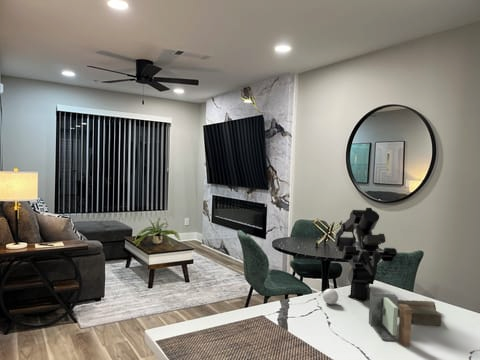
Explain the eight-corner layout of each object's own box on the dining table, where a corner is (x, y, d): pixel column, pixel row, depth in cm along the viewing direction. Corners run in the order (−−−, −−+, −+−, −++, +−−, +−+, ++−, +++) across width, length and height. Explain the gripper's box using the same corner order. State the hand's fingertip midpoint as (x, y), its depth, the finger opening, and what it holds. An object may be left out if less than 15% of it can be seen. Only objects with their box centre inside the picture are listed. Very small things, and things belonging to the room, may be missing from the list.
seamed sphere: (319, 302, 135) (319, 287, 134) (330, 300, 137) (331, 285, 137) (333, 310, 128) (333, 294, 128) (345, 307, 130) (345, 292, 130)
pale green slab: (379, 323, 114) (381, 297, 114) (386, 323, 114) (387, 297, 114) (389, 335, 106) (391, 307, 106) (396, 335, 106) (398, 307, 106)
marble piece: (434, 310, 131) (434, 299, 131) (452, 329, 116) (453, 316, 116) (387, 306, 133) (387, 296, 133) (399, 324, 119) (400, 312, 118)
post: (397, 339, 107) (399, 304, 107) (404, 339, 107) (406, 304, 107) (403, 346, 103) (405, 309, 103) (410, 346, 103) (412, 310, 103)
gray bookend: (368, 323, 118) (370, 293, 118) (393, 324, 118) (394, 294, 117) (381, 340, 106) (383, 307, 106) (408, 341, 106) (410, 308, 106)
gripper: (345, 224, 131) (352, 262, 120) (396, 226, 130) (408, 264, 120) (339, 240, 139) (345, 278, 128) (387, 242, 138) (397, 280, 128)
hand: (373, 274), depth 126 cm, fingers closed
